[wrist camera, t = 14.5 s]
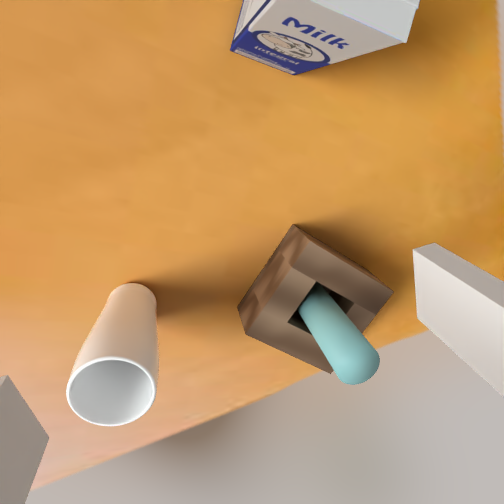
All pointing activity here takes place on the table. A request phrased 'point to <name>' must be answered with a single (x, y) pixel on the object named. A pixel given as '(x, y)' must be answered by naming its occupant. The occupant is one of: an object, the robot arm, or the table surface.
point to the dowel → (338, 337)
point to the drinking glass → (118, 360)
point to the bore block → (297, 287)
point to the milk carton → (319, 30)
